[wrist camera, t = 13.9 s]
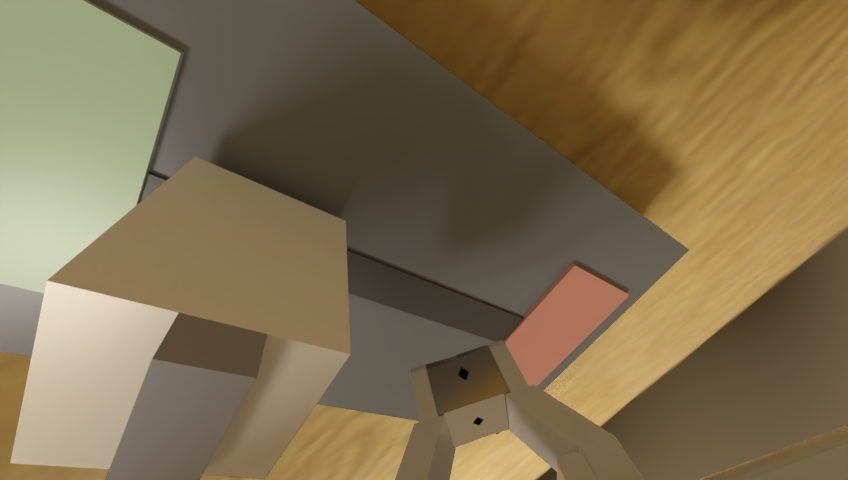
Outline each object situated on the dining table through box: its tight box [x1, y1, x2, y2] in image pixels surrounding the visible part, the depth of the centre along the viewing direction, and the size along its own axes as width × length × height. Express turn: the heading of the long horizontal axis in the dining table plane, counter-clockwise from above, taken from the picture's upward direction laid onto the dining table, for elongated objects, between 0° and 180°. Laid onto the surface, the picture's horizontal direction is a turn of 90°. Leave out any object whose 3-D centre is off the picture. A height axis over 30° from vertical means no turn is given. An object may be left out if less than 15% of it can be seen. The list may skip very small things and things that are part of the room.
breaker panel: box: [0, 0, 689, 434], centre depth 13 cm, size 14×24×3 cm, turn 57°
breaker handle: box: [10, 156, 351, 480], centre depth 7 cm, size 4×4×6 cm
